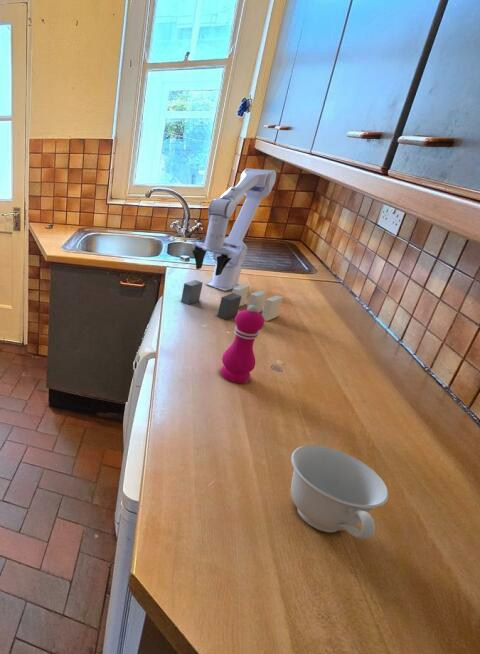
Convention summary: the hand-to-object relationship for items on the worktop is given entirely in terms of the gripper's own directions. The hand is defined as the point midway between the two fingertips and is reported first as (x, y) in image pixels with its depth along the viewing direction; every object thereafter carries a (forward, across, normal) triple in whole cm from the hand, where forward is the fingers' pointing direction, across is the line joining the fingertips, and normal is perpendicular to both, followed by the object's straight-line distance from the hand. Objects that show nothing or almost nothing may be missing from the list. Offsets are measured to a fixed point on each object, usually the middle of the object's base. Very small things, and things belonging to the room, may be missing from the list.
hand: (208, 271), depth 145 cm
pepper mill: (+10, +36, -38) cm, 53 cm away
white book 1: (+9, +18, +2) cm, 20 cm away
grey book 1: (+9, 0, -8) cm, 12 cm away
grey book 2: (+9, +14, -8) cm, 19 cm away
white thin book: (+9, +12, +2) cm, 15 cm away
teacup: (+10, +68, -65) cm, 95 cm away
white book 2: (+9, +22, +2) cm, 24 cm away
